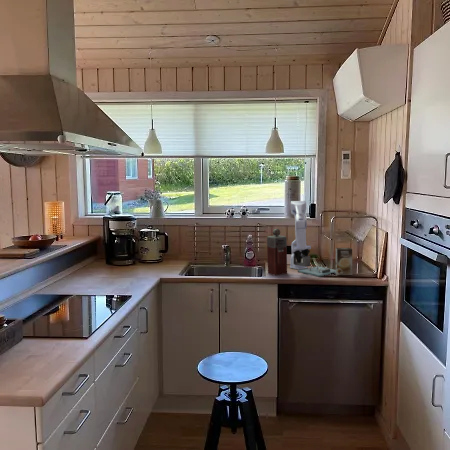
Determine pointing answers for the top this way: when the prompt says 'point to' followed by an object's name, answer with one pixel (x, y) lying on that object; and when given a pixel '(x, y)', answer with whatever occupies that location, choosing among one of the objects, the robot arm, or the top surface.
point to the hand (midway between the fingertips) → (301, 262)
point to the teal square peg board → (317, 271)
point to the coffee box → (343, 261)
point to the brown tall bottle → (277, 253)
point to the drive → (303, 261)
